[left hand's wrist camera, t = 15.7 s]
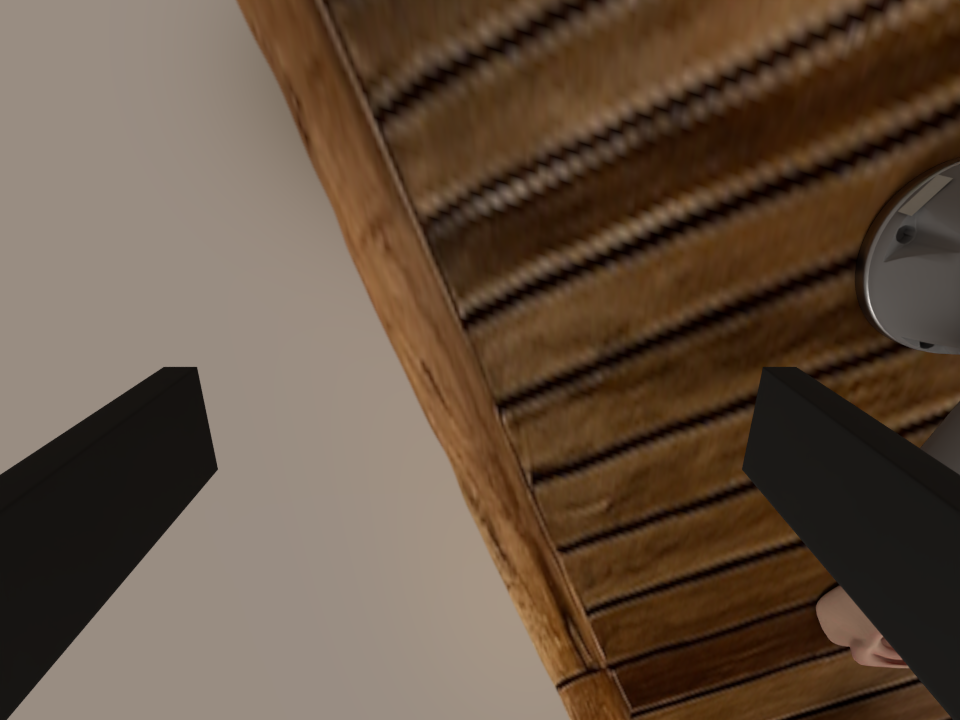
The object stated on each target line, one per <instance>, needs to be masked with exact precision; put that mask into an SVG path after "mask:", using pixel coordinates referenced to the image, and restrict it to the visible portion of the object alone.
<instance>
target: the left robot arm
mask: <svg viewBox="0 0 960 720" xmlns="http://www.w3.org/2000/svg"><path fill="white" fill-rule="evenodd" d="M855 287H856V294H857V299H858V302H859V305H860V308H861V310H862V312H863V314H864V315H865V317H866V319H867V320H868V321H869V323H870V324H871V325H872V326H873V327H874V328H875V329H876V330H877V331H878V332H880V333H881V334H883V335H884V336H886V337H888V338H889V339H891V340H894V341H896V342H898V343H900V344H903V345H905V346H908V347H910V348H913V349H917V350H921V351H927V352H932V353H942V354H960V158H956V159H953V160H950V161H947V162H944V163H942V164H939V165H937V166H935V167H933V168H931V169H929V170H927V171H926V172H924V173H922V174H921V175H919V176H917V177H916V178H915V179H913V180H912V181H910V182H909V183H908V184H907V185H905V186H904V187H903V188H902V189H901V190H899V191H898V192H897V193H896V194H895V195H894V196H893V197H892V198H891V199H890V200H889V202H888V203H887V204H886V205H885V206H884V207H883V209H882V210H881V211H880V213H879V214H878V215H877V217H876V218H875V220H874V221H873V223H872V225H871V226H870V228H869V230H868V232H867V234H866V236H865V238H864V241H863V243H862V245H861V248H860V252H859V255H858V259H857V264H856V271H855ZM217 470H218V468H217V463H216V458H215V453H214V448H213V443H212V438H211V433H210V429H209V424H208V419H207V414H206V409H205V404H204V399H203V394H202V389H201V384H200V380H199V375H198V370H197V367H163V368H162V369H160V370H159V371H157V372H156V373H154V374H153V375H151V376H149V377H148V378H147V379H145V380H143V381H142V382H140V383H139V384H137V385H136V386H134V387H133V388H131V389H130V390H128V391H127V392H125V393H124V394H122V395H121V396H119V397H118V398H116V399H115V400H113V401H112V402H110V403H109V404H107V405H105V406H104V407H103V408H101V409H99V410H98V411H96V412H95V413H93V414H92V415H90V416H89V417H87V418H86V419H84V420H83V421H81V422H80V423H78V424H77V425H75V426H74V427H72V428H71V429H69V430H68V431H66V432H65V433H63V434H61V435H60V436H58V437H57V438H55V439H54V440H52V441H51V442H49V443H48V444H46V445H45V446H43V447H42V448H40V449H39V450H37V451H36V452H34V453H33V454H31V455H30V456H28V457H27V458H25V459H24V460H22V461H20V462H19V463H17V464H16V465H14V466H13V467H11V468H10V469H8V470H7V471H5V472H4V473H2V474H1V475H0V720H7V719H8V718H9V716H10V715H11V714H12V713H13V712H14V711H15V709H16V708H17V707H18V706H19V704H20V703H21V702H22V701H23V700H24V699H25V697H26V696H27V695H28V694H29V693H30V691H31V690H32V689H33V688H34V687H35V686H36V684H37V683H38V682H39V681H40V680H41V678H42V677H43V676H44V675H45V674H46V672H47V671H48V670H49V669H50V668H51V667H52V665H53V664H54V663H55V662H56V661H57V659H58V658H59V657H60V656H61V655H62V654H63V652H64V651H65V650H66V649H67V648H68V646H69V645H70V644H71V643H72V642H73V640H74V639H75V638H76V637H77V636H78V635H79V633H80V632H81V631H82V630H83V629H84V628H85V626H86V625H87V624H88V623H89V622H90V620H91V619H92V618H93V617H94V616H95V614H96V613H97V612H98V611H99V610H100V609H101V607H102V606H103V605H104V604H105V603H106V601H107V600H108V599H109V598H110V597H111V595H112V594H113V593H114V592H115V591H116V590H117V588H118V587H119V586H120V585H121V584H122V582H123V581H124V580H125V579H126V578H127V576H128V575H129V574H130V573H131V572H132V571H133V569H134V568H135V567H136V566H137V565H138V564H139V562H140V561H141V560H142V559H143V558H144V556H145V555H146V554H147V553H148V552H149V550H150V549H151V548H152V547H153V546H154V545H155V543H156V542H157V541H158V540H159V539H160V537H161V536H162V535H163V534H164V533H165V532H166V530H167V529H168V528H169V527H170V526H171V524H172V523H173V522H174V521H175V520H176V518H177V517H178V516H179V515H180V514H181V513H182V511H183V510H184V509H185V508H186V507H187V505H188V504H189V503H190V502H191V501H192V499H193V498H194V497H195V496H196V495H197V494H198V492H199V491H200V490H201V489H202V488H203V486H204V485H205V484H206V483H207V482H208V480H209V479H210V478H211V477H212V476H213V475H214V473H215V472H216V471H217ZM742 470H743V471H744V472H745V473H746V475H747V476H748V477H749V478H750V479H751V481H752V482H753V483H754V484H755V485H756V486H757V488H758V489H759V490H760V491H761V492H762V494H763V495H764V496H765V497H766V498H767V500H768V501H769V502H770V503H771V504H772V505H773V507H774V508H775V509H776V510H777V511H778V513H779V514H780V515H781V516H782V517H783V518H784V520H785V521H786V522H787V523H788V524H789V526H790V527H791V528H792V529H793V530H794V532H795V533H796V534H797V535H798V536H799V537H800V539H801V540H802V541H803V542H804V543H805V545H806V546H807V547H808V548H809V549H810V550H811V552H812V553H813V554H814V555H815V556H816V558H817V559H818V560H819V561H820V562H821V564H822V565H823V566H824V567H825V568H826V569H827V571H828V572H829V573H830V574H831V575H832V577H833V578H834V579H835V580H836V581H837V582H838V584H839V585H840V586H841V587H842V588H843V590H844V591H845V592H846V593H847V594H848V596H849V597H850V598H851V599H852V600H853V601H854V603H855V604H856V605H857V606H858V607H859V609H860V610H861V611H862V612H863V613H864V614H865V616H866V617H867V618H868V619H869V620H870V622H871V623H872V624H873V625H874V626H875V628H876V629H877V630H878V631H879V632H880V633H881V635H882V636H883V637H884V638H885V639H886V641H887V642H888V643H889V644H890V645H891V646H892V648H893V649H894V650H895V651H896V652H897V654H898V655H899V656H900V657H901V658H902V660H903V661H904V662H905V663H906V664H907V665H908V667H909V668H910V669H911V670H912V671H913V673H914V674H915V675H916V676H917V677H918V678H919V680H920V681H921V682H922V683H923V684H924V686H925V687H926V688H927V689H928V690H929V692H930V693H931V694H932V695H933V696H934V697H935V699H936V700H937V701H938V702H939V703H940V705H941V706H942V707H943V708H944V709H945V711H946V712H947V713H948V714H949V715H950V716H951V718H952V719H953V720H960V402H959V403H958V404H957V405H956V406H955V407H954V409H953V410H952V411H951V412H950V413H949V415H948V416H947V417H946V418H945V419H944V420H943V422H942V423H941V424H940V425H939V426H938V428H937V429H936V430H935V431H934V432H933V434H932V435H931V436H930V437H929V438H928V439H927V441H926V442H925V443H924V444H923V445H922V447H921V448H918V447H917V446H915V445H914V444H912V443H911V442H909V441H908V440H906V439H905V438H903V437H902V436H900V435H899V434H897V433H895V432H894V431H892V430H891V429H889V428H888V427H886V426H885V425H883V424H882V423H880V422H879V421H877V420H876V419H874V418H873V417H871V416H870V415H868V414H867V413H865V412H864V411H862V410H861V409H859V408H858V407H856V406H855V405H853V404H851V403H850V402H848V401H847V400H845V399H844V398H842V397H841V396H839V395H838V394H836V393H835V392H833V391H832V390H830V389H829V388H827V387H826V386H824V385H823V384H821V383H820V382H818V381H817V380H815V379H814V378H812V377H811V376H809V375H807V374H806V373H804V372H803V371H801V370H800V369H798V368H797V367H763V370H762V375H761V380H760V384H759V389H758V394H757V399H756V404H755V409H754V414H753V419H752V423H751V428H750V433H749V438H748V443H747V448H746V453H745V458H744V463H743V467H742Z"/></svg>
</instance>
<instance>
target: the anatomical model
mask: <svg viewBox="0 0 960 720" xmlns="http://www.w3.org/2000/svg"><path fill="white" fill-rule="evenodd" d="M816 612H817V616H818V619H819V622H820V624H821V627H822V629H823V631H824V632H825V634H826V635H827V637H828V638H829V639H830V640H831V641H832V642H833V643H835V644H838V645H842V646H850V648H851V654H852V656H853V658H854V660H855V661H856V662H857V663H859V664H861V665H867V666H878V667H892V668H909V667H908V665H907V664H906V663H905V662H904V661H903V660H902V658H901V657H900V656H899V655H898V654H897V652H896V651H895V650H894V649H893V648H892V646H891V645H890V644H889V643H888V642H887V641H886V639H885V638H884V637H883V636H882V635H881V633H880V632H879V631H878V630H877V629H876V628H875V626H874V625H873V624H872V623H871V622H870V620H869V619H868V618H867V617H866V616H865V614H864V613H863V612H862V611H861V610H860V609H859V607H858V606H857V605H856V604H855V603H854V601H853V600H852V599H851V598H850V597H849V596H848V594H847V593H846V592H845V591H844V590H843V588H842V587H841V586H840V585H839V586H837V587H835V588H834V589H832V590H831V591H829V592H828V593H826V594H825V595H824V596H823V597H821V598H820V600H819V601H818V603H817V605H816Z"/></svg>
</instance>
